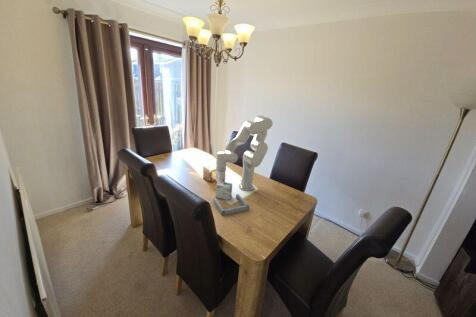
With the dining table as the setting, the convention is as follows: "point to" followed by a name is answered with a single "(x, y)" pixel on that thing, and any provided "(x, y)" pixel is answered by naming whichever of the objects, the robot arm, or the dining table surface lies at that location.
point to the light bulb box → (224, 190)
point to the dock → (232, 210)
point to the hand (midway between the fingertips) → (219, 189)
